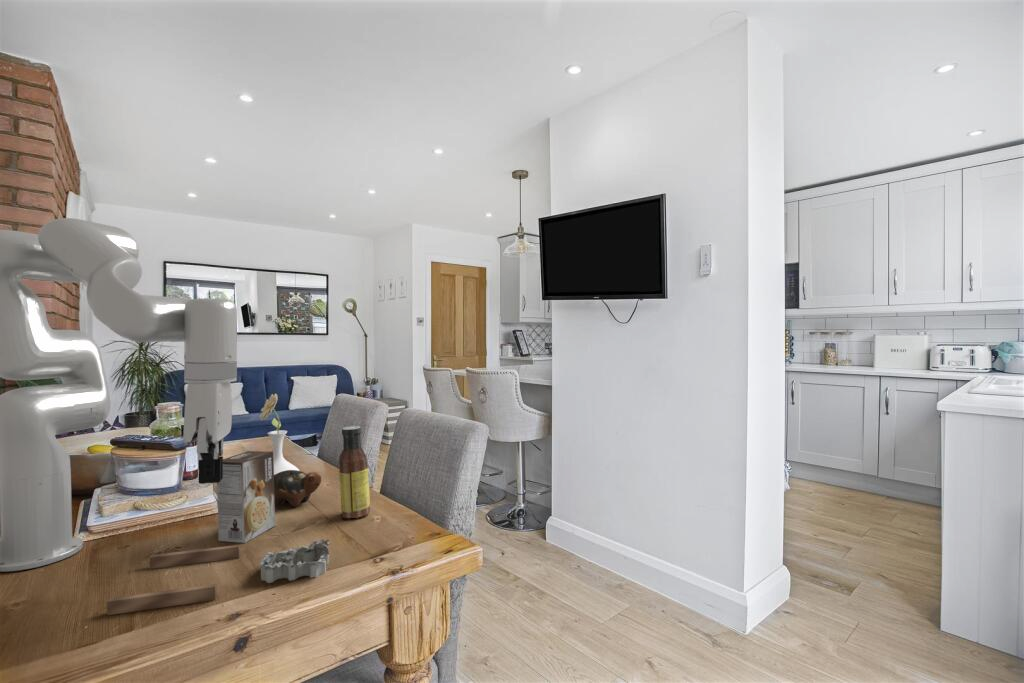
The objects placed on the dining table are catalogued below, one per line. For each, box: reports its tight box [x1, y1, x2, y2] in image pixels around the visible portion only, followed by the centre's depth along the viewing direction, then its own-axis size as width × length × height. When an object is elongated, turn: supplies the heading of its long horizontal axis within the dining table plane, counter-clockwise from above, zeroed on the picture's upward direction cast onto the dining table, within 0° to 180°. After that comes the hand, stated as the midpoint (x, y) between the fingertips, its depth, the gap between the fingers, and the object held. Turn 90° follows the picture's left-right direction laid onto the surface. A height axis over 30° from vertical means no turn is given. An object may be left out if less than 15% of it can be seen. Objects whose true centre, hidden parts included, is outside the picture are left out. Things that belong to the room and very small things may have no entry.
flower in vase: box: [258, 393, 300, 475], centre depth 137 cm, size 13×11×25 cm
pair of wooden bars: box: [106, 544, 241, 616], centre depth 82 cm, size 14×16×2 cm
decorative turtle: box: [274, 470, 322, 508], centre depth 120 cm, size 10×15×8 cm, turn 89°
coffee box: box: [216, 450, 276, 544], centre depth 102 cm, size 9×6×16 cm
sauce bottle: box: [338, 425, 371, 519], centre depth 112 cm, size 6×6×20 cm
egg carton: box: [258, 539, 330, 584], centre depth 86 cm, size 11×8×4 cm
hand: (210, 481), depth 83 cm, fingers closed
